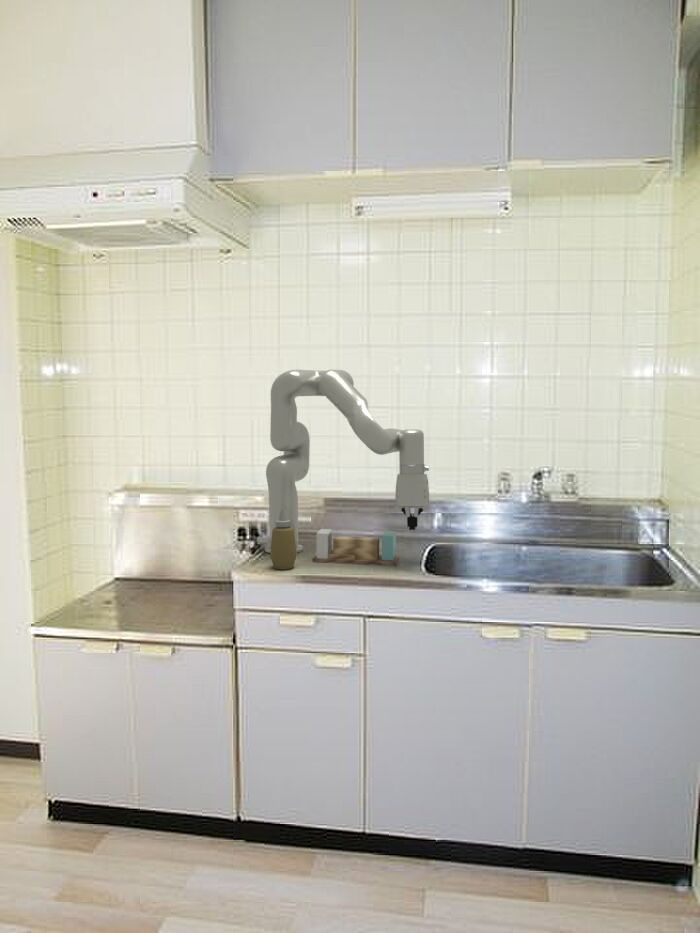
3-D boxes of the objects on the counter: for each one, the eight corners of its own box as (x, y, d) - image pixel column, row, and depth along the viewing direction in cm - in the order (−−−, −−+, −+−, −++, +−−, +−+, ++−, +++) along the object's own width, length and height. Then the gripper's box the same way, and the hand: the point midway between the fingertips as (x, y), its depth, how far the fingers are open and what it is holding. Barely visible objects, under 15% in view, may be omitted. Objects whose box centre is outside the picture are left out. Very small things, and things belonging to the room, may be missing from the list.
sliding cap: (381, 560, 227) (381, 535, 227) (384, 554, 234) (384, 531, 233) (393, 560, 227) (393, 536, 226) (395, 555, 234) (395, 531, 233)
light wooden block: (333, 557, 232) (333, 538, 231) (335, 554, 236) (335, 536, 235) (377, 559, 229) (377, 540, 229) (379, 556, 233) (379, 537, 233)
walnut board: (312, 561, 231) (312, 554, 230) (319, 555, 239) (319, 548, 239) (395, 565, 226) (395, 558, 226) (399, 558, 235) (399, 551, 234)
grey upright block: (316, 558, 231) (316, 533, 230) (321, 553, 238) (321, 528, 237) (327, 558, 231) (327, 533, 230) (332, 553, 237) (332, 529, 237)
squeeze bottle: (292, 571, 219) (292, 511, 217) (266, 570, 220) (265, 510, 218) (300, 565, 227) (299, 506, 225) (274, 563, 228) (274, 506, 226)
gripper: (437, 468, 228) (437, 527, 230) (389, 468, 231) (389, 526, 233) (435, 471, 221) (436, 532, 223) (385, 471, 224) (386, 531, 226)
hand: (412, 529), depth 228 cm, fingers closed
